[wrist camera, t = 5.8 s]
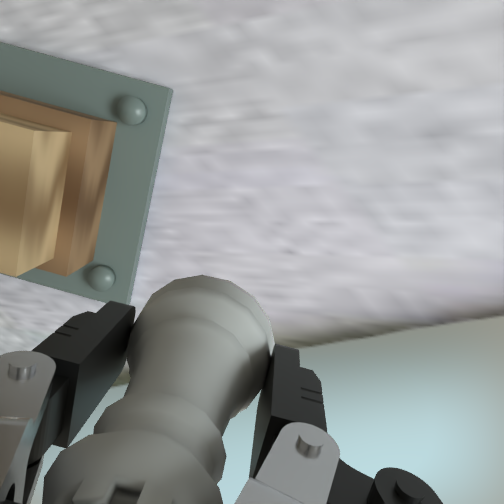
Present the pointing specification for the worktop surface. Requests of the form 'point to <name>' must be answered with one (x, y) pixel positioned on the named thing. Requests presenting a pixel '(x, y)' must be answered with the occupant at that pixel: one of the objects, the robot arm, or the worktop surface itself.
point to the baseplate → (121, 165)
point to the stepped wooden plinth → (50, 185)
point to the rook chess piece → (172, 401)
